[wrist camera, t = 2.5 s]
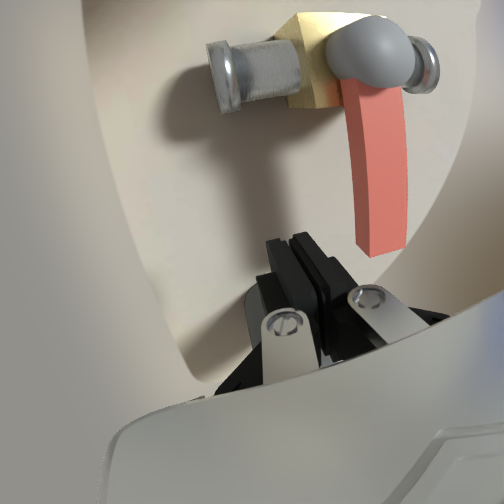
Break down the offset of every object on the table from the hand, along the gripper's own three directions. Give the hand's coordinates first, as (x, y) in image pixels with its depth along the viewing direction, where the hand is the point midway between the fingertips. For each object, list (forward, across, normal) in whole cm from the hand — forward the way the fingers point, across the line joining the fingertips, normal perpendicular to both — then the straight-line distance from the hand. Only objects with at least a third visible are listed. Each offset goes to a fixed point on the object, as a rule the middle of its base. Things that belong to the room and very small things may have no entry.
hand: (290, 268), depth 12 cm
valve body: (+12, -7, -9) cm, 17 cm away
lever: (+6, -7, -4) cm, 10 cm away
